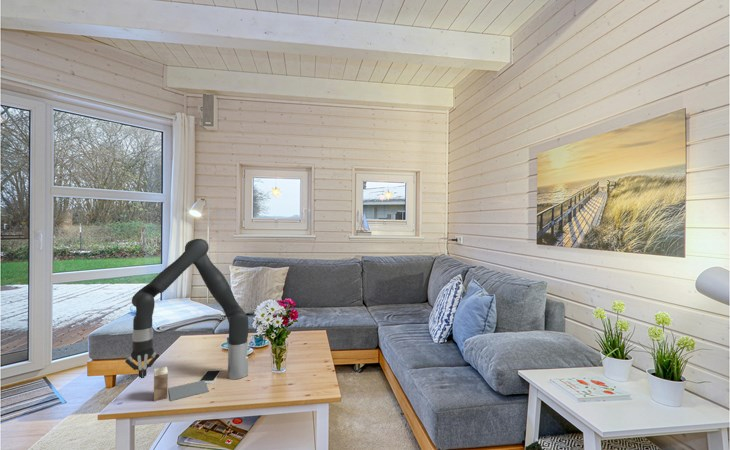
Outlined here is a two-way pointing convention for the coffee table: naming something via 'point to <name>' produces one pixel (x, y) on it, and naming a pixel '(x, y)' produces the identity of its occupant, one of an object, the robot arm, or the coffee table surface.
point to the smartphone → (211, 376)
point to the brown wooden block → (160, 383)
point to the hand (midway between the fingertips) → (142, 377)
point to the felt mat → (188, 390)
